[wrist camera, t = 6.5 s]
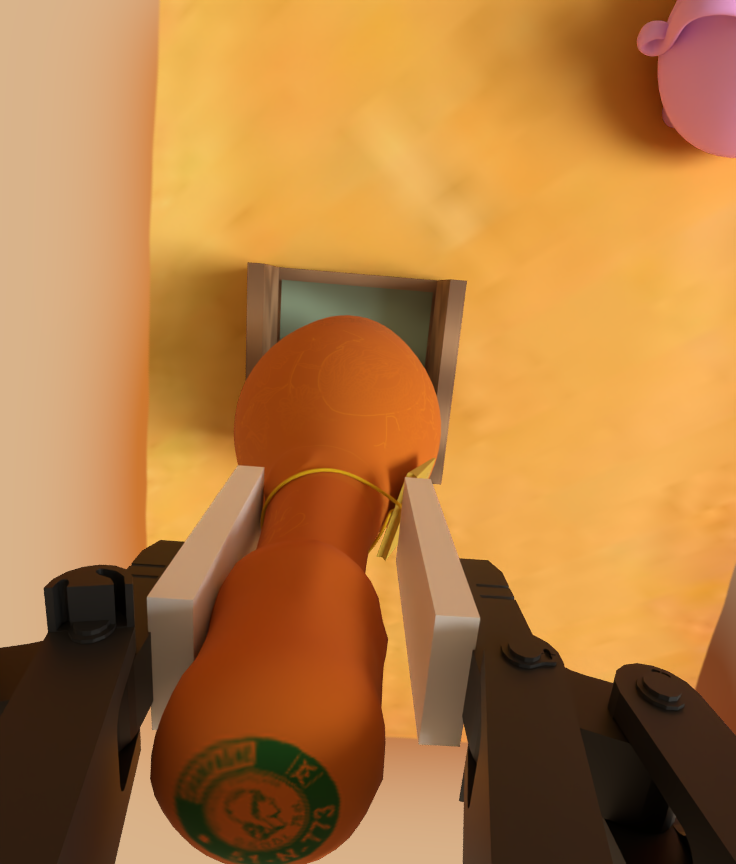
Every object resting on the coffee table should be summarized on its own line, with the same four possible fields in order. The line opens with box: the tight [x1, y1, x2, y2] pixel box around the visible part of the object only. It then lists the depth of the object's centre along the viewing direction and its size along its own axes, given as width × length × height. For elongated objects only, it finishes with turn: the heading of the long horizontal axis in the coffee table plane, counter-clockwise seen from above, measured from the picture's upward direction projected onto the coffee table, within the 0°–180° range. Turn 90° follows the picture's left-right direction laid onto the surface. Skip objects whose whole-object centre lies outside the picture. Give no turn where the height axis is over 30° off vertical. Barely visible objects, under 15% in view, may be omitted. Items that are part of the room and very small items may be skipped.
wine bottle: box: [150, 315, 441, 864], centre depth 21 cm, size 10×10×30 cm
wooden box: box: [246, 262, 467, 484], centre depth 44 cm, size 16×16×8 cm
